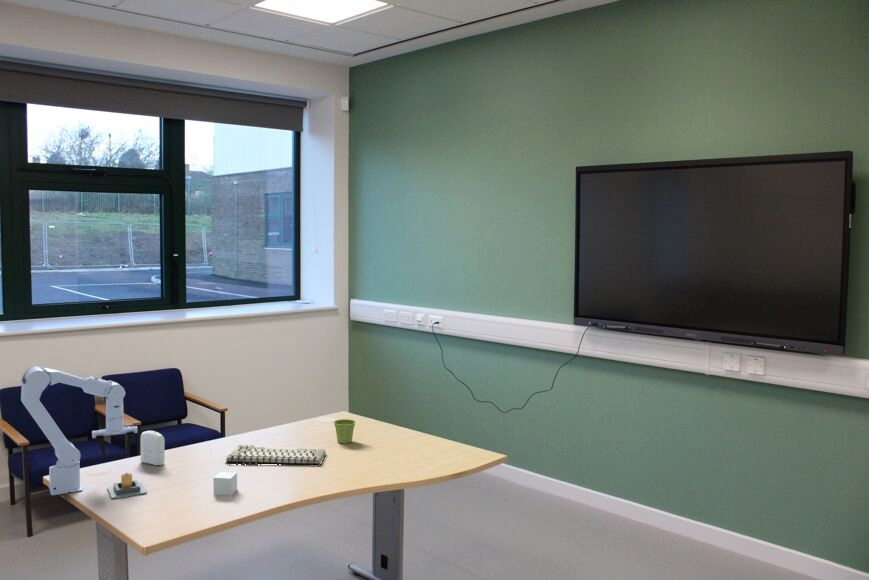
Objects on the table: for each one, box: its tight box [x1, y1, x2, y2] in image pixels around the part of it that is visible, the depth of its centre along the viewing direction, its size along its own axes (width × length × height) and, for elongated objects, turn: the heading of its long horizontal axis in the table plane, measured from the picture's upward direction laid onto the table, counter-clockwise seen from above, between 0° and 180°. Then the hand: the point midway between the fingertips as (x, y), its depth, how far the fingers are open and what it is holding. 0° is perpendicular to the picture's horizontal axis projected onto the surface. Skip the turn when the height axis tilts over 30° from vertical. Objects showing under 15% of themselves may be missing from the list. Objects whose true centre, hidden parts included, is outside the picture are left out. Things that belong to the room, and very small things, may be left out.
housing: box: [106, 479, 148, 500], centre depth 247 cm, size 11×11×2 cm
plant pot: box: [333, 418, 357, 445], centre depth 309 cm, size 9×9×9 cm
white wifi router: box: [139, 430, 166, 467], centre depth 276 cm, size 10×4×12 cm, turn 60°
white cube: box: [213, 471, 238, 496], centre depth 248 cm, size 6×6×6 cm
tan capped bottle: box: [120, 472, 133, 488], centre depth 247 cm, size 3×3×6 cm
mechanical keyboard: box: [224, 444, 327, 467], centre depth 286 cm, size 38×19×3 cm, turn 91°
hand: (115, 454), depth 256 cm, fingers open, 7 cm apart
